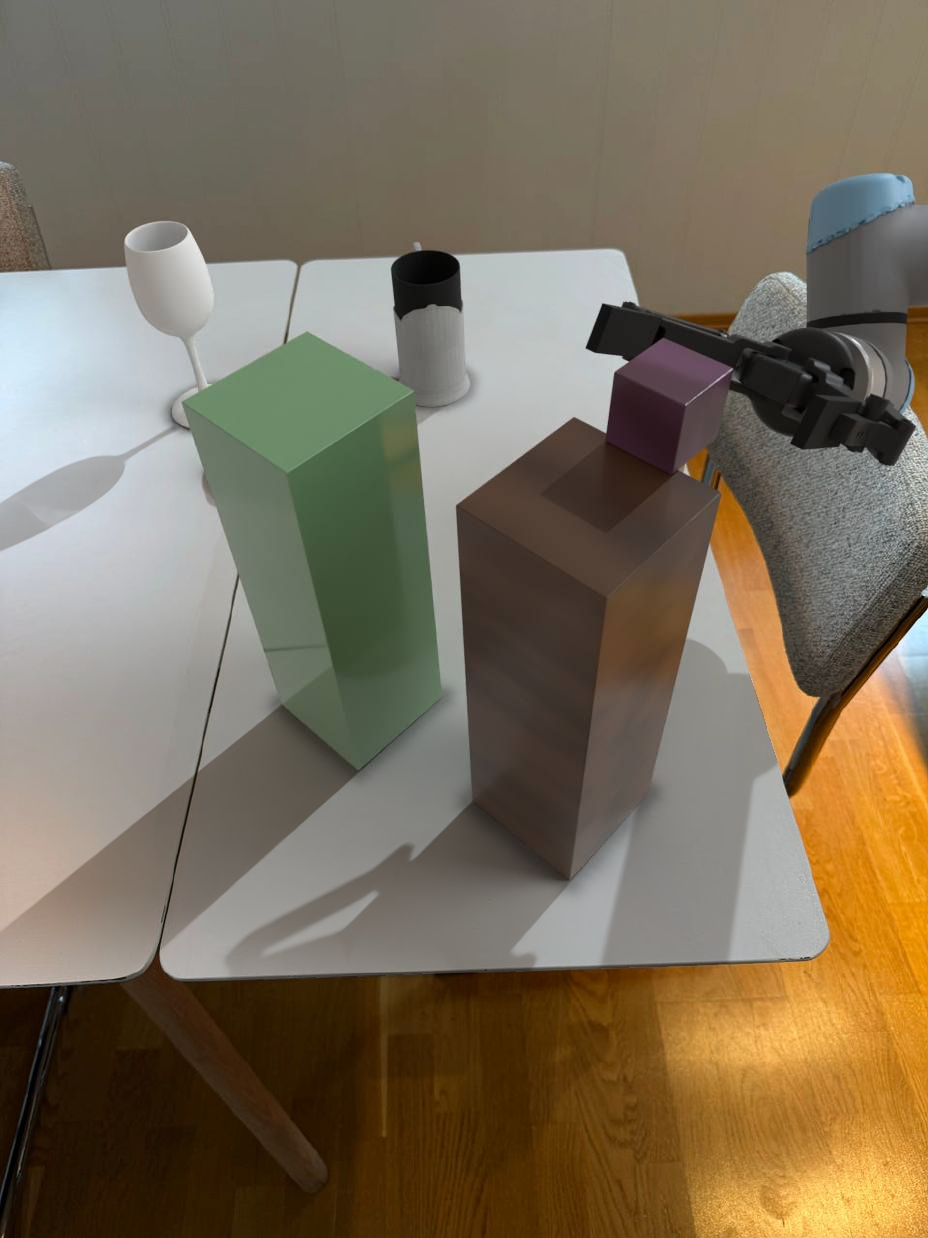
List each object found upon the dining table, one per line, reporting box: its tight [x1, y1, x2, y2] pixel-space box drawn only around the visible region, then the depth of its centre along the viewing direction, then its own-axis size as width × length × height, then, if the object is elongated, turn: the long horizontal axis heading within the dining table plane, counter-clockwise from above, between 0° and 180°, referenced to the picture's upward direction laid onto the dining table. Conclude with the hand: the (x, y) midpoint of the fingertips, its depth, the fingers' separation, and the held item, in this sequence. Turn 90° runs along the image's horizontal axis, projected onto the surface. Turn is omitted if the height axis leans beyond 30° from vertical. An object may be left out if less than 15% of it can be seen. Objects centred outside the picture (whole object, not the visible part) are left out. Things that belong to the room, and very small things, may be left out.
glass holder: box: [390, 241, 471, 408], centre depth 104 cm, size 9×14×15 cm, turn 9°
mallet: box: [605, 338, 733, 475], centre depth 53 cm, size 16×4×4 cm
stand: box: [455, 416, 723, 881], centre depth 60 cm, size 10×10×32 cm
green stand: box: [181, 331, 443, 771], centre depth 66 cm, size 10×10×32 cm
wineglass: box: [123, 220, 215, 429], centre depth 99 cm, size 9×9×21 cm
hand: (696, 372), depth 49 cm, fingers open, 13 cm apart
